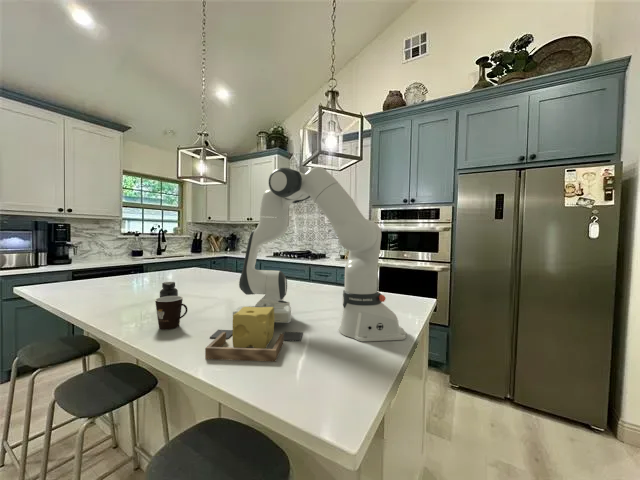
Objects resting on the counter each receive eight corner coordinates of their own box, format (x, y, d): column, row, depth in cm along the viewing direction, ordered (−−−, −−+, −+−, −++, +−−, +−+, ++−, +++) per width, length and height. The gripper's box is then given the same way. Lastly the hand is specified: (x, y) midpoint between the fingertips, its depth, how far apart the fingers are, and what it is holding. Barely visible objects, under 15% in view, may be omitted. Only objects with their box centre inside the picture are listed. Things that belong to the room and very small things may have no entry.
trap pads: (302, 333, 99) (302, 332, 99) (300, 341, 92) (300, 340, 92) (218, 330, 100) (218, 329, 100) (209, 338, 93) (209, 337, 93)
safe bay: (283, 343, 90) (283, 333, 90) (275, 361, 77) (275, 350, 77) (222, 341, 91) (222, 331, 91) (205, 359, 78) (205, 348, 78)
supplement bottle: (161, 309, 125) (161, 281, 124) (179, 308, 127) (179, 280, 126) (158, 313, 118) (157, 284, 118) (176, 312, 120) (176, 283, 120)
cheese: (266, 350, 85) (266, 316, 84) (230, 348, 86) (230, 314, 85) (274, 336, 95) (275, 306, 95) (242, 335, 96) (242, 305, 96)
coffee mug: (152, 326, 103) (151, 298, 103) (177, 321, 109) (177, 294, 109) (162, 335, 95) (162, 304, 95) (189, 329, 101) (189, 300, 101)
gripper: (239, 300, 109) (225, 310, 96) (293, 302, 108) (288, 312, 95) (239, 317, 110) (225, 330, 96) (293, 318, 109) (287, 331, 95)
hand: (257, 321), depth 95 cm, fingers closed, pressing on cheese
